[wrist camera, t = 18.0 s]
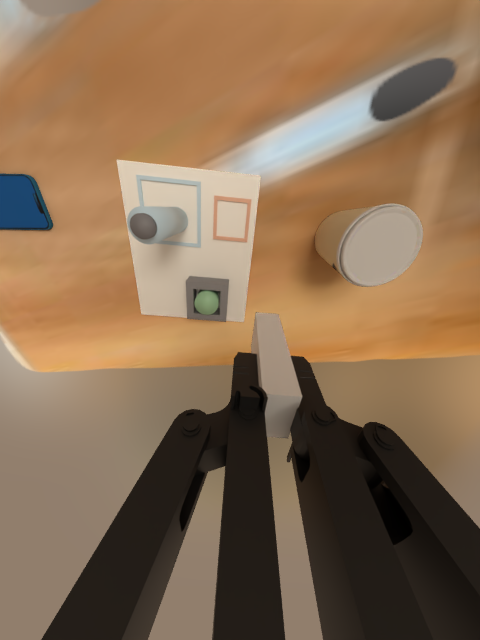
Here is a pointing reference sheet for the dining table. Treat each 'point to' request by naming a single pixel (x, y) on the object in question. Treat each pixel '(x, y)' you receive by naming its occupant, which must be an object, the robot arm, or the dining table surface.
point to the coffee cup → (370, 243)
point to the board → (193, 238)
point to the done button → (207, 301)
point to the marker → (156, 223)
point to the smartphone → (22, 204)
